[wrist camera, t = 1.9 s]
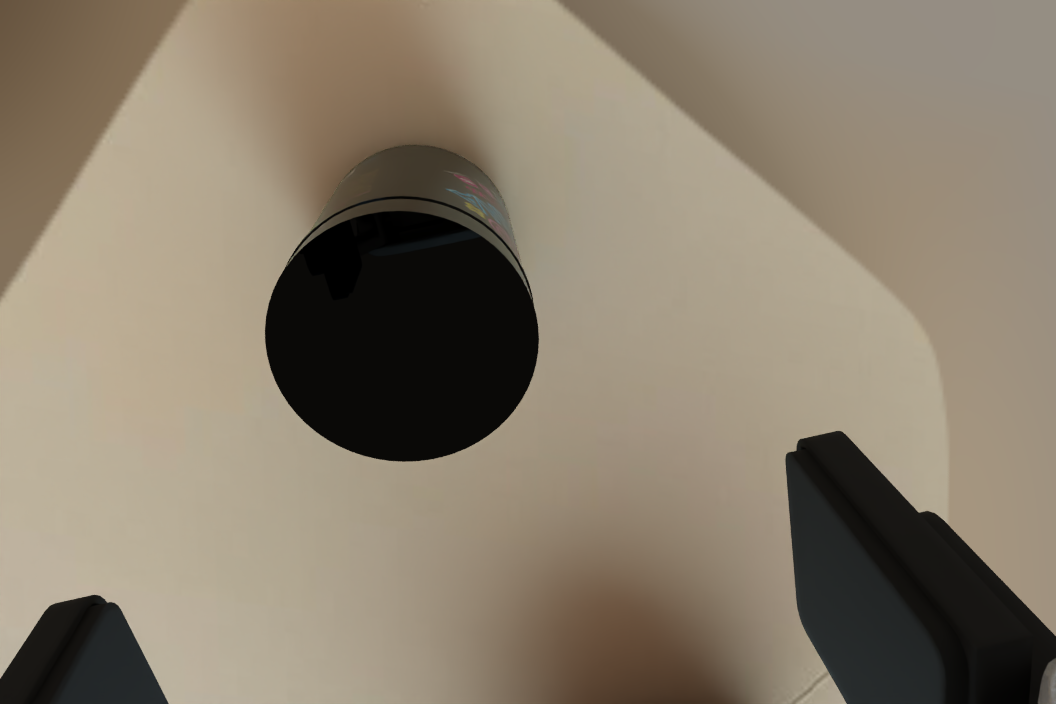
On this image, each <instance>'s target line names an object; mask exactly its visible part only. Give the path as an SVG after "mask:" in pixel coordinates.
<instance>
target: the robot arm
mask: <svg viewBox="0 0 1056 704" xmlns="http://www.w3.org/2000/svg"><path fill="white" fill-rule="evenodd" d="M786 475H787V487H788V500H789V512H790V525H791V537H792V549H793V562H794V574H795V587H796V599H797V608H798V612H799V616H800V619H801V622H802V625H803V627H804V629H805V631H806V633H807V635H808V637H809V638H810V640H811V642H812V644H813V645H814V647H815V649H816V651H817V652H818V654H819V656H820V658H821V659H822V661H823V663H824V665H825V666H826V668H827V670H828V671H829V673H830V675H831V677H832V678H833V680H834V682H835V684H836V685H837V687H838V689H839V691H840V692H841V694H842V696H843V698H844V699H845V701H846V703H847V704H1056V636H1055V635H1054V634H1053V633H1052V632H1051V631H1050V630H1049V629H1048V628H1047V627H1046V626H1045V625H1044V624H1043V623H1042V622H1041V620H1040V619H1039V618H1038V617H1037V616H1036V615H1035V614H1034V613H1033V612H1032V611H1031V610H1030V609H1029V608H1028V607H1027V606H1026V605H1025V604H1024V603H1023V602H1022V601H1021V600H1020V599H1019V598H1018V597H1017V596H1016V595H1015V594H1014V593H1013V592H1012V591H1011V589H1009V587H1008V586H1007V585H1006V584H1005V583H1004V582H1003V581H1002V580H1001V579H1000V578H999V577H998V576H997V575H996V574H995V573H994V572H993V571H992V570H991V569H990V568H989V567H988V566H987V565H986V564H985V563H984V562H983V561H982V560H981V558H979V556H977V554H976V553H975V552H974V551H973V550H972V549H971V548H970V547H969V546H968V545H967V544H966V543H965V542H964V541H963V540H962V539H961V538H960V537H959V536H958V535H957V534H956V533H955V532H954V531H953V530H952V529H951V528H950V526H949V525H948V524H947V523H946V522H945V521H944V520H943V519H941V518H940V517H939V516H938V515H936V514H935V513H932V512H929V511H925V512H921V513H918V512H917V511H916V509H915V508H914V507H913V506H912V505H911V504H910V503H909V502H908V501H907V500H906V499H905V498H904V497H903V496H902V494H901V493H900V492H899V491H898V490H897V489H896V488H895V487H894V486H893V485H892V484H891V483H890V482H889V481H888V479H887V478H886V477H885V476H884V475H883V474H882V473H881V472H880V471H879V470H878V469H877V468H876V467H875V466H874V464H873V463H872V462H871V461H870V460H869V459H868V458H867V457H866V456H865V455H864V454H863V453H862V452H861V451H860V449H859V448H858V447H857V446H856V445H855V444H854V443H853V442H852V441H851V440H850V439H849V438H848V437H847V436H846V434H844V433H843V432H842V431H835V432H831V433H826V434H822V435H817V436H813V437H808V438H804V439H800V440H799V441H798V443H797V451H794V452H789V453H787V454H786ZM0 704H168V702H167V700H166V698H165V696H164V694H163V692H162V690H161V688H160V686H159V684H158V682H157V680H156V678H155V676H154V674H153V672H152V670H151V668H150V666H149V664H148V662H147V660H146V658H145V656H144V654H143V652H142V650H141V648H140V646H139V644H138V642H137V641H136V639H135V637H134V635H133V633H132V631H131V629H130V627H129V625H128V623H127V621H126V619H125V617H124V615H123V613H122V611H121V609H120V608H119V606H118V605H116V604H115V603H112V602H109V603H107V602H106V601H105V599H103V598H102V597H101V596H98V595H91V596H87V597H82V598H78V599H73V600H69V601H64V602H60V603H55V604H53V605H51V606H49V608H48V609H47V610H46V611H45V612H44V614H43V615H42V617H41V618H40V620H39V621H38V623H37V624H36V626H35V627H34V629H33V630H32V632H31V633H30V635H29V636H28V638H27V639H26V641H25V642H24V644H23V645H22V647H21V648H20V650H19V651H18V653H17V654H16V656H15V657H14V659H13V660H12V662H11V664H10V665H9V667H8V668H7V670H6V671H5V673H4V674H3V676H2V677H1V679H0Z"/></svg>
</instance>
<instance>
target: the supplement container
mask: <svg viewBox="0 0 1056 704" xmlns="http://www.w3.org/2000/svg"><path fill="white" fill-rule="evenodd" d="M265 342H266V350H267V356H268V360H269V364H270V368H271V371H272V373H273V376H274V379H275V381H276V383H277V385H278V387H279V389H280V391H281V393H282V394H283V396H284V397H285V399H286V401H287V402H288V404H289V405H290V406H291V407H292V409H293V410H294V411H295V412H296V414H297V415H298V416H299V417H300V418H301V419H302V420H303V421H304V422H305V423H306V424H307V425H309V426H310V427H311V428H312V429H313V430H315V431H316V432H317V433H319V434H320V435H321V436H323V437H324V438H326V439H327V440H329V441H331V442H333V443H334V444H336V445H338V446H340V447H342V448H345V449H347V450H349V451H352V452H355V453H357V454H360V455H363V456H367V457H371V458H376V459H382V460H388V461H421V460H430V459H434V458H439V457H443V456H447V455H450V454H453V453H456V452H458V451H461V450H463V449H466V448H468V447H470V446H471V445H473V444H475V443H477V442H479V441H480V440H482V439H483V438H485V437H487V436H488V435H489V434H491V433H492V432H493V431H494V430H496V429H497V428H498V427H499V426H500V425H501V424H502V423H503V422H504V421H505V420H506V419H507V418H508V417H509V416H510V415H511V413H512V412H513V411H514V410H515V409H516V407H517V406H518V404H519V403H520V401H521V400H522V398H523V396H524V394H525V392H526V391H527V389H528V386H529V384H530V381H531V379H532V377H533V373H534V370H535V366H536V361H537V355H538V344H539V335H538V323H537V317H536V312H535V308H534V303H533V297H532V293H531V289H530V285H529V282H528V279H527V276H526V274H525V272H524V269H523V267H522V264H521V260H520V256H519V252H518V248H517V245H516V241H515V237H514V233H513V229H512V225H511V222H510V218H509V214H508V211H507V208H506V205H505V203H504V201H503V199H502V197H501V195H500V193H499V191H498V190H497V188H496V187H495V185H494V184H493V183H492V181H491V180H490V179H489V178H488V177H487V176H486V175H485V174H484V173H483V172H482V171H481V170H480V169H479V168H478V167H477V166H475V165H474V164H473V163H471V162H470V161H468V160H467V159H465V158H463V157H461V156H459V155H457V154H455V153H453V152H450V151H448V150H445V149H441V148H437V147H432V146H426V145H405V146H398V147H393V148H390V149H386V150H383V151H381V152H378V153H376V154H374V155H372V156H370V157H368V158H366V159H365V160H363V161H362V162H360V163H359V164H358V165H357V166H355V167H354V168H353V169H352V170H351V171H350V172H349V173H348V174H347V175H346V176H345V177H344V179H343V180H342V181H341V182H340V184H339V185H338V187H337V188H336V190H335V192H334V193H333V195H332V197H331V198H330V200H329V201H328V203H327V205H326V206H325V208H324V209H323V211H322V213H321V214H320V216H319V217H318V219H317V221H316V222H315V224H314V225H313V227H312V229H311V230H310V232H309V233H308V234H307V235H306V236H305V237H304V239H303V240H302V241H301V243H300V244H299V245H298V246H297V248H296V249H295V251H294V253H293V254H292V256H291V258H290V259H289V261H288V263H287V265H286V267H285V269H284V271H283V273H282V274H281V276H280V278H279V279H278V281H277V284H276V286H275V288H274V290H273V293H272V296H271V299H270V302H269V306H268V311H267V316H266V326H265Z"/></svg>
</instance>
